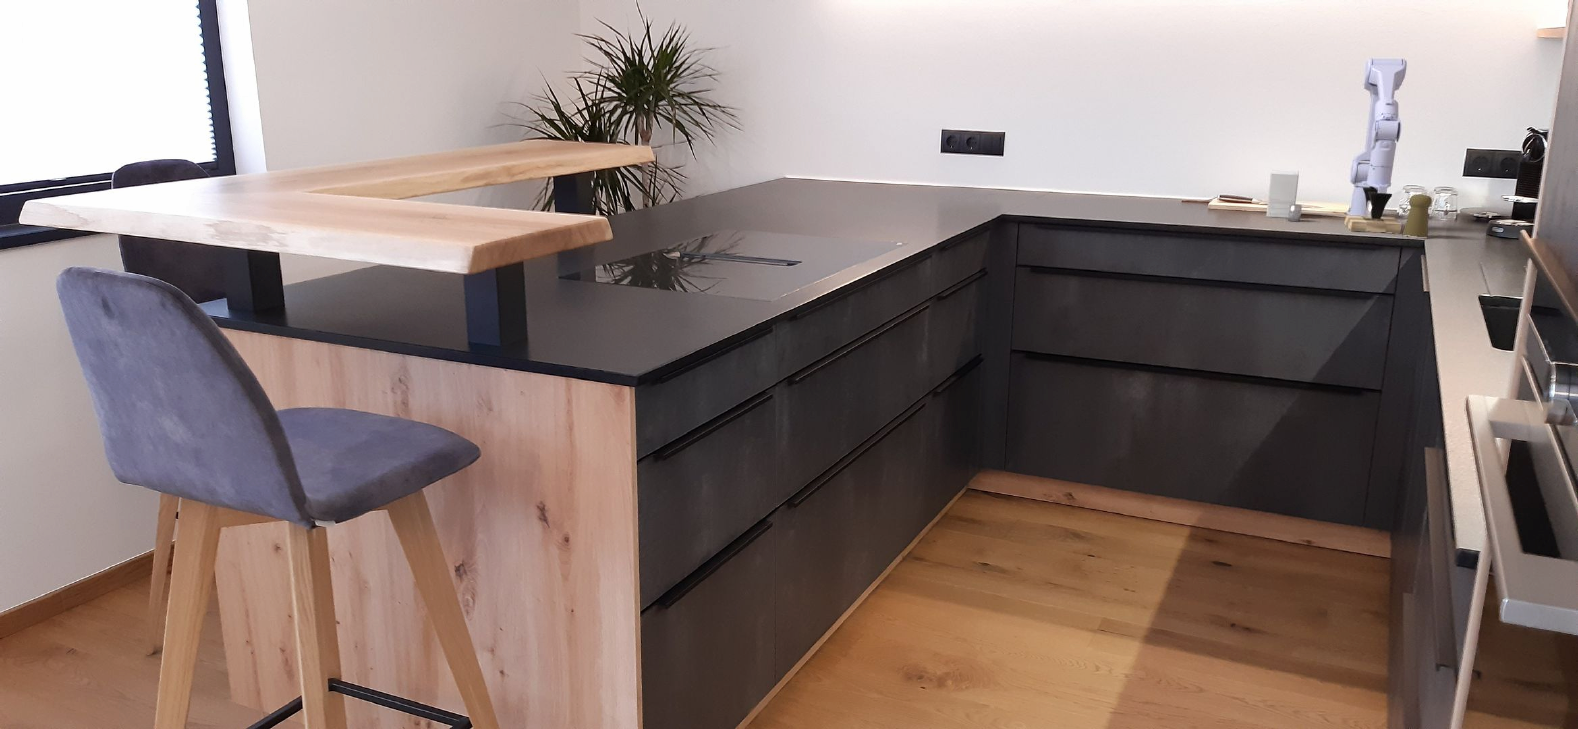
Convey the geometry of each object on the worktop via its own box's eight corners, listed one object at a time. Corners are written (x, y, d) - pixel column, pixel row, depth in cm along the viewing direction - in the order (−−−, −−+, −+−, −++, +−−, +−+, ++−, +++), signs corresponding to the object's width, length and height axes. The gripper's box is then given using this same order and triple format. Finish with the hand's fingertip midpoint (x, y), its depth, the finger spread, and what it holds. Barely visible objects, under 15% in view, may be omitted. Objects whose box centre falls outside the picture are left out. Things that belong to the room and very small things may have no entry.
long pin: (1363, 227, 321) (1367, 200, 319) (1376, 228, 319) (1380, 200, 317) (1363, 229, 318) (1367, 201, 316) (1376, 230, 317) (1381, 202, 314)
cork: (1422, 234, 310) (1428, 193, 307) (1431, 239, 305) (1438, 196, 302) (1398, 234, 311) (1404, 192, 308) (1407, 238, 305) (1414, 196, 302)
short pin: (1287, 219, 332) (1289, 203, 331) (1299, 220, 331) (1301, 204, 330) (1288, 221, 329) (1290, 205, 328) (1300, 222, 328) (1302, 206, 327)
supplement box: (1294, 214, 340) (1300, 171, 337) (1293, 218, 334) (1298, 174, 330) (1267, 213, 343) (1272, 169, 340) (1265, 216, 337) (1270, 172, 333)
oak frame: (1344, 223, 326) (1345, 214, 325) (1391, 226, 322) (1393, 216, 322) (1350, 231, 315) (1352, 221, 314) (1400, 233, 311) (1401, 224, 311)
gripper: (1360, 162, 321) (1353, 211, 325) (1369, 168, 308) (1361, 219, 312) (1388, 163, 319) (1381, 212, 323) (1398, 169, 306) (1390, 221, 310)
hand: (1373, 216), depth 318 cm, fingers open, 7 cm apart
